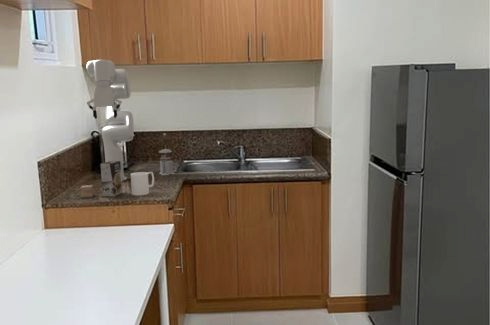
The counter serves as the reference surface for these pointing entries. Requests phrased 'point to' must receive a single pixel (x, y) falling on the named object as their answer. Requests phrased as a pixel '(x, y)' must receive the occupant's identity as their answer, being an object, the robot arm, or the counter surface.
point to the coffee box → (111, 178)
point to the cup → (140, 183)
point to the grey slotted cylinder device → (166, 163)
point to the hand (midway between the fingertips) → (105, 118)
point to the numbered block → (87, 191)
